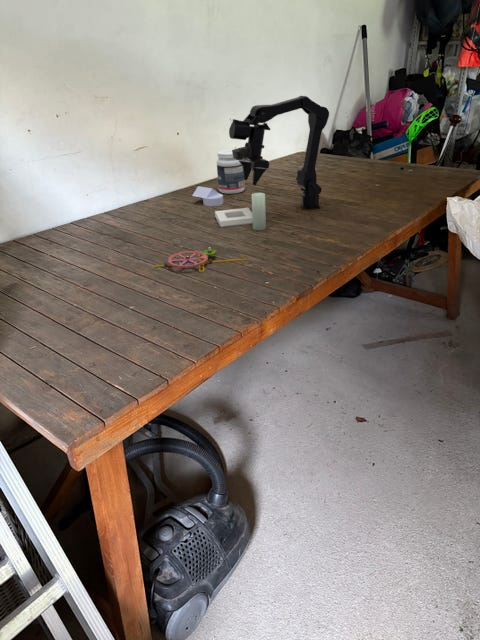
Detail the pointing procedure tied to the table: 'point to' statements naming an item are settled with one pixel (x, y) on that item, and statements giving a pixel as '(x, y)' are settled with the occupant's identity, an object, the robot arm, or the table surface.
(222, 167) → the supplement tub
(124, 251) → the table surface
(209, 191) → the wedge on round base
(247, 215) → the socket block
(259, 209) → the green post
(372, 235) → the table surface
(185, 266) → the mechanical gear assembly
